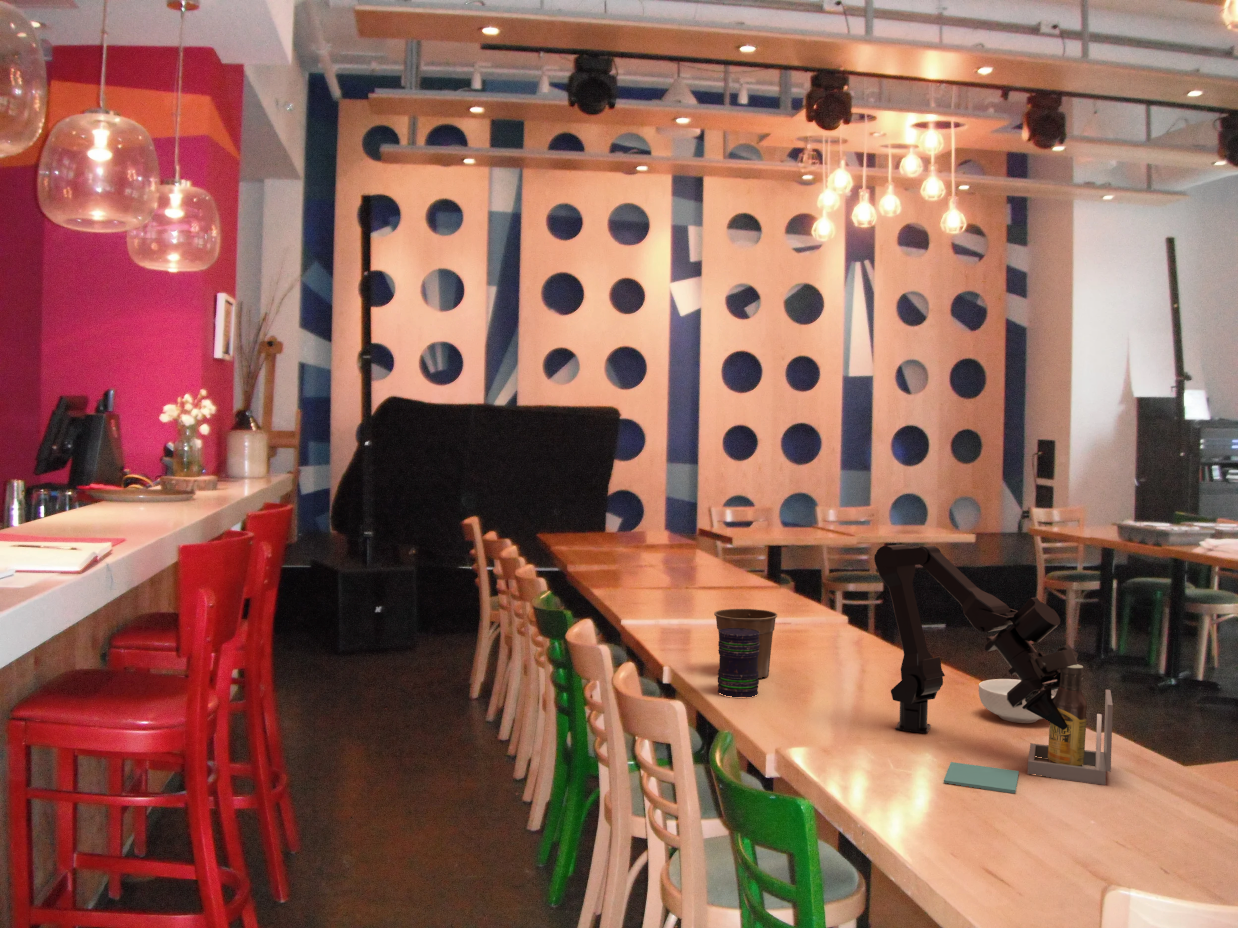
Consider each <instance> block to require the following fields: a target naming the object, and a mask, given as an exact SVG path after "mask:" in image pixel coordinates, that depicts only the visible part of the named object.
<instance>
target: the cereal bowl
mask: <svg viewBox="0 0 1238 928" xmlns="http://www.w3.org/2000/svg"><path fill="white" fill-rule="evenodd" d="M1019 682H1021V680H1020V679H1013V678H1012V679H1011V678H997V679H995V678H993V679H987V680H983V681H981V682H979V684H978V697H979V700H980V702H981V704H982V706H984V708H985V709H986V710H988V711H989V712H991V713H992V714H993V715H994V714H995V715H997V716H998V717H999V718H1000V719H1002V720H1003V721H1008V722H1011V723H1017V724H1018V723H1019V724H1032V723H1033V724H1034V723H1036V722H1037V721H1038V720H1042V719H1043V718H1042V717H1040V716H1038V715H1036V714H1034V713H1032V712H1030V711H1028V710H1026V709H1023V708H1022V707H1023V706H1024V705H1025V704H1026V701H1025V699H1024V700H1023V701H1022V705H1021V706H1019V707H1015V708H1013V707H1012V706H1011V705H1010V703H1009V702H1008V701H1007V693H1008V692H1009V691H1010V690H1011V689H1012V688H1013V687H1015V686H1016V685H1017V684H1018V683H1019ZM1052 698H1054V696H1052ZM1043 720H1044V719H1043Z"/></svg>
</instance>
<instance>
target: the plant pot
mask: <svg viewBox="0 0 1238 928" xmlns="http://www.w3.org/2000/svg"><path fill="white" fill-rule="evenodd" d="M714 617H715V620H716V629H717V630H718V631H717V632H718V633H719V630H720V629H725V628H747V629H753V630H757V631H759V643H760V648H759V656H758V672H759V676H758V678H761V679H763V678H762V677H765V678H767V677H769V674H770V667H771V666H770V665H771V655H772V654H771V652H772V646H773V645H772V643H773V634H774V631H775V624H776V618H778V614H777V612H774V611H770V610H765V609H756V608H755V609H754V608H729V609H720V610H716V611H714ZM719 636H720V635H719V634H718V637H719ZM766 676H767V677H766Z"/></svg>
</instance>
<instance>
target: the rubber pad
mask: <svg viewBox="0 0 1238 928" xmlns="http://www.w3.org/2000/svg"><path fill="white" fill-rule="evenodd" d="M1019 772H1020V771H1019V770H1013V769H1007V768H999V767H993V766H985V765H979V764H978V765H977V764H969V763H968V764H967V763H961V762H954V761H951V762H950V763H949V766H948V767H947V770H946V773H945V776H944V779H943V784H944V783H949V784H948V785H950V784H956V785H955V786H957V785H961V786H960V787H965V786H969V787H968V788H972V787H974V788H973V789H979V788H981V789H980V790H987V791H993V792H1000V793H1008V794H1014V793H1017V788H1016V787H1018V782H1019V776H1018V775H1020V773H1019ZM1017 781H1018V782H1017Z"/></svg>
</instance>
